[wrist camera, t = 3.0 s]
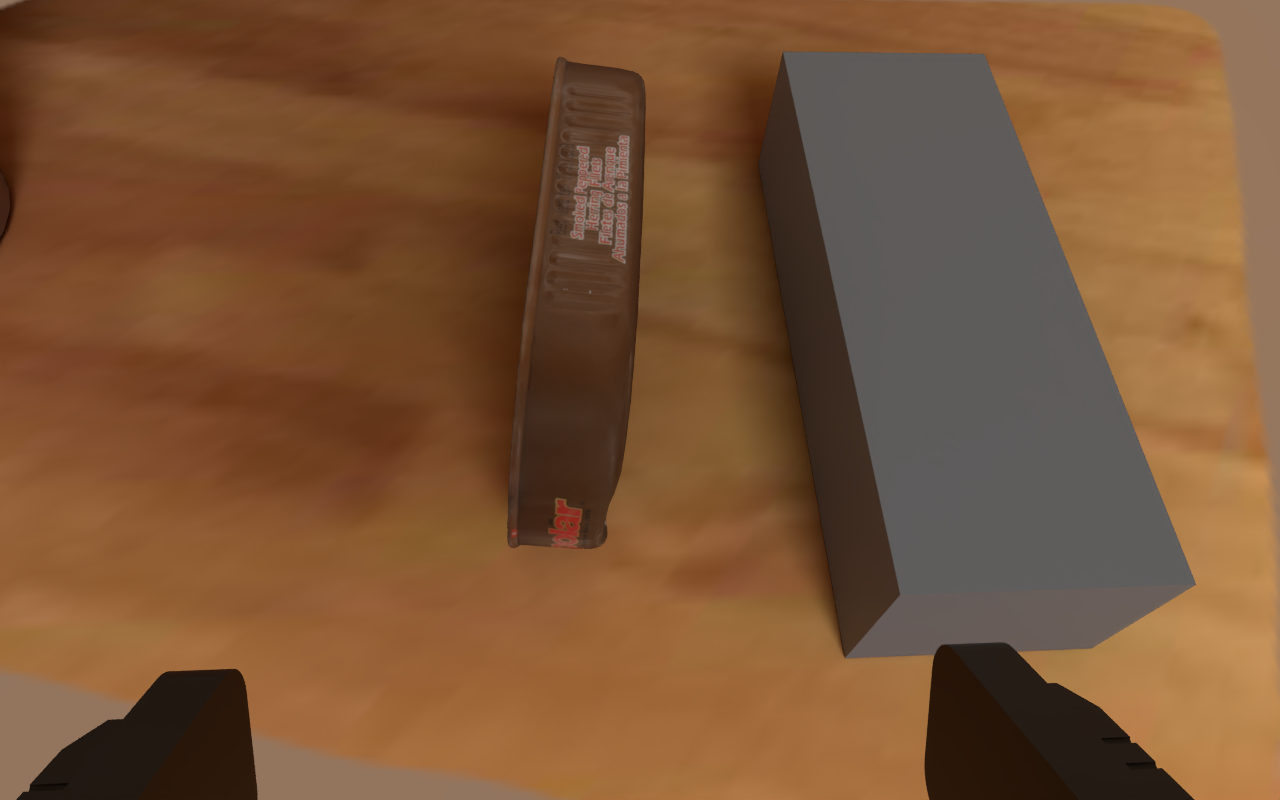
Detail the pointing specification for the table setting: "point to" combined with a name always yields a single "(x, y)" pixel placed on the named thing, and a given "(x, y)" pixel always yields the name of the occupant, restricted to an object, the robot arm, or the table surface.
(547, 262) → the tin
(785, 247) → the base brick
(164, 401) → the table surface
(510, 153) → the table surface
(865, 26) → the table surface
